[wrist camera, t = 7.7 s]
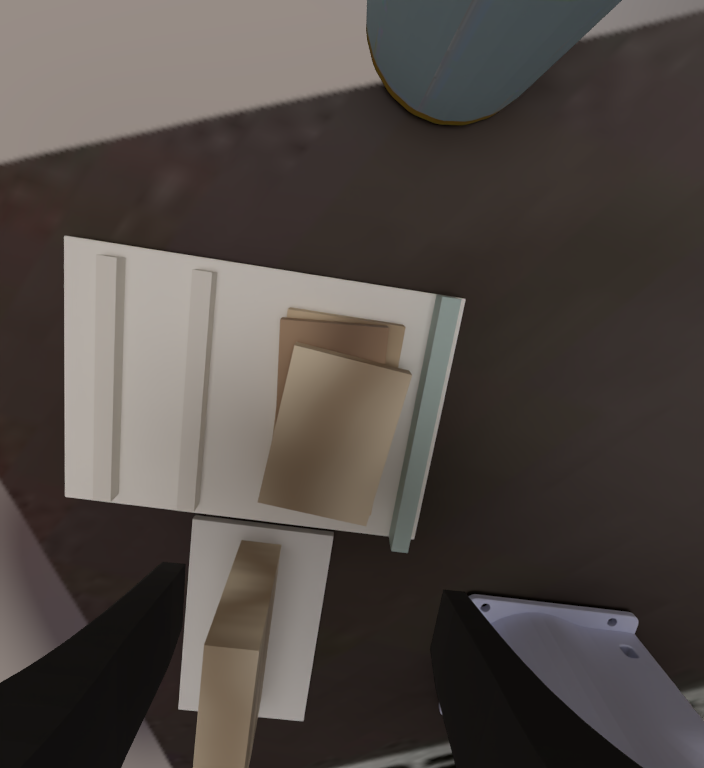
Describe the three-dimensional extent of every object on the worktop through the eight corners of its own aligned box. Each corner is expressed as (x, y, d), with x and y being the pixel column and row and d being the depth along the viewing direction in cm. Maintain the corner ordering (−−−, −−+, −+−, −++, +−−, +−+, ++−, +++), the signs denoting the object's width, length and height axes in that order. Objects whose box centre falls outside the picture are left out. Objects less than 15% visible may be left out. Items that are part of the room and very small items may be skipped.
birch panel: (281, 544, 23) (259, 651, 17) (260, 700, 25) (234, 844, 19) (241, 540, 23) (204, 645, 16) (224, 697, 25) (186, 840, 19)
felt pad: (333, 531, 23) (333, 536, 23) (303, 714, 26) (303, 721, 26) (195, 514, 23) (192, 519, 22) (180, 702, 26) (178, 709, 25)
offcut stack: (411, 325, 20) (420, 333, 18) (376, 507, 22) (381, 535, 20) (285, 306, 20) (278, 312, 17) (263, 493, 22) (254, 520, 20)
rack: (462, 298, 20) (473, 301, 19) (412, 532, 23) (418, 554, 22) (72, 236, 19) (45, 233, 18) (72, 490, 22) (49, 509, 21)
